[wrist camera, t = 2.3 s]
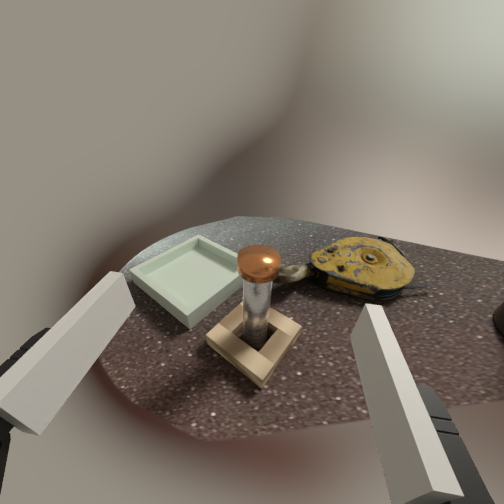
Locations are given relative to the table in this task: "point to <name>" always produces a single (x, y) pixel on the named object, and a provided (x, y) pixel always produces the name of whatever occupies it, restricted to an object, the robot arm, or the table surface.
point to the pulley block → (355, 268)
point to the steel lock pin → (257, 290)
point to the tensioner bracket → (246, 357)
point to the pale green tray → (190, 278)
